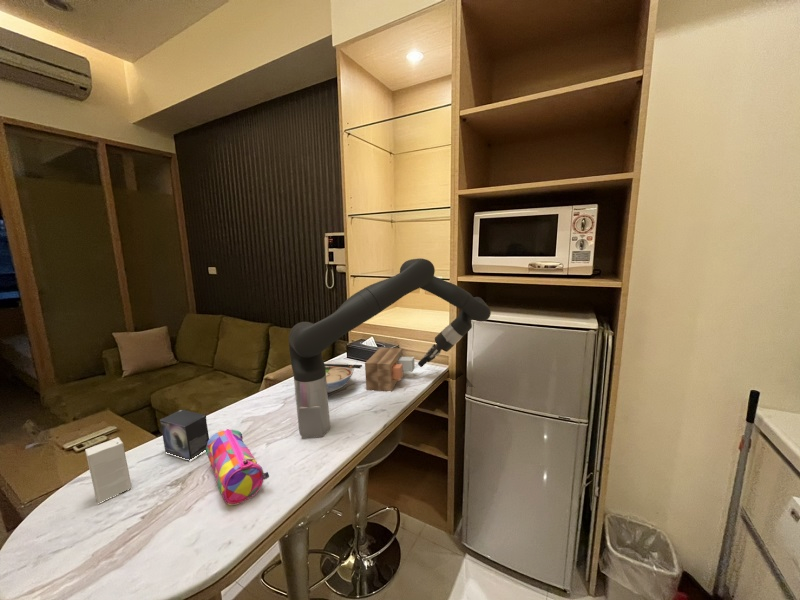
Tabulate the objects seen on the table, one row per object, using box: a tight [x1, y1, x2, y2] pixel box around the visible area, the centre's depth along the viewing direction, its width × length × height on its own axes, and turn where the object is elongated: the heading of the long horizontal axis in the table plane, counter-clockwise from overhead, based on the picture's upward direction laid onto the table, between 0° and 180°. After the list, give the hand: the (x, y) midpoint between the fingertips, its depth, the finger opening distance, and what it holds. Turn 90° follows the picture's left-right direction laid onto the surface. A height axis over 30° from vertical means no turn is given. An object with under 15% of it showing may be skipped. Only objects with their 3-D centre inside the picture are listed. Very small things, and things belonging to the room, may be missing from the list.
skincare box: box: [84, 436, 133, 504], centre depth 72 cm, size 6×4×12 cm
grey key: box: [398, 356, 416, 373], centre depth 133 cm, size 7×5×5 cm
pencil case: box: [205, 428, 270, 506], centre depth 76 cm, size 22×9×9 cm, turn 42°
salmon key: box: [392, 364, 404, 381], centre depth 125 cm, size 7×5×5 cm
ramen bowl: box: [324, 361, 363, 394], centre depth 124 cm, size 25×23×8 cm
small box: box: [159, 409, 210, 460], centre depth 87 cm, size 11×6×10 cm, turn 68°
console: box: [364, 347, 403, 392], centre depth 130 cm, size 10×20×11 cm, turn 166°
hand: (419, 365), depth 131 cm, fingers closed
